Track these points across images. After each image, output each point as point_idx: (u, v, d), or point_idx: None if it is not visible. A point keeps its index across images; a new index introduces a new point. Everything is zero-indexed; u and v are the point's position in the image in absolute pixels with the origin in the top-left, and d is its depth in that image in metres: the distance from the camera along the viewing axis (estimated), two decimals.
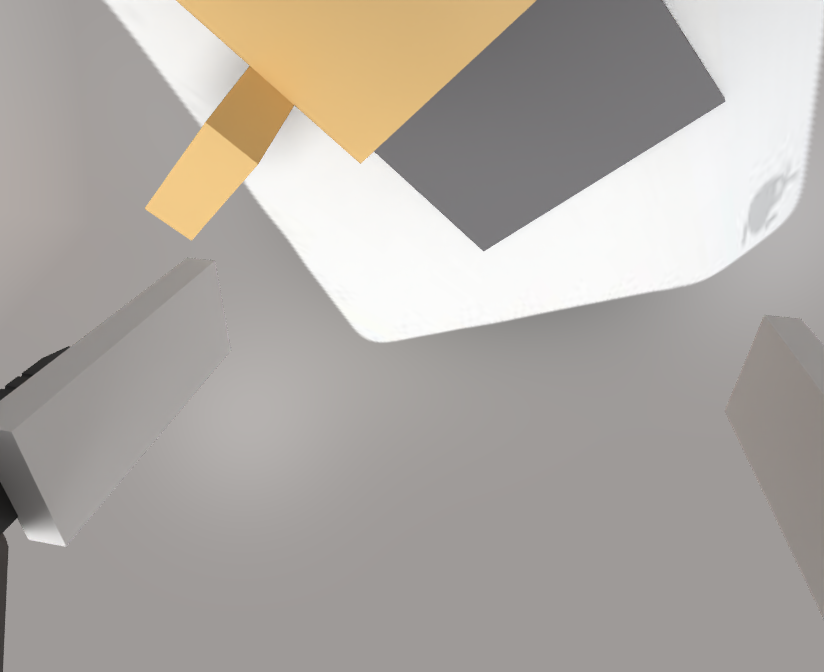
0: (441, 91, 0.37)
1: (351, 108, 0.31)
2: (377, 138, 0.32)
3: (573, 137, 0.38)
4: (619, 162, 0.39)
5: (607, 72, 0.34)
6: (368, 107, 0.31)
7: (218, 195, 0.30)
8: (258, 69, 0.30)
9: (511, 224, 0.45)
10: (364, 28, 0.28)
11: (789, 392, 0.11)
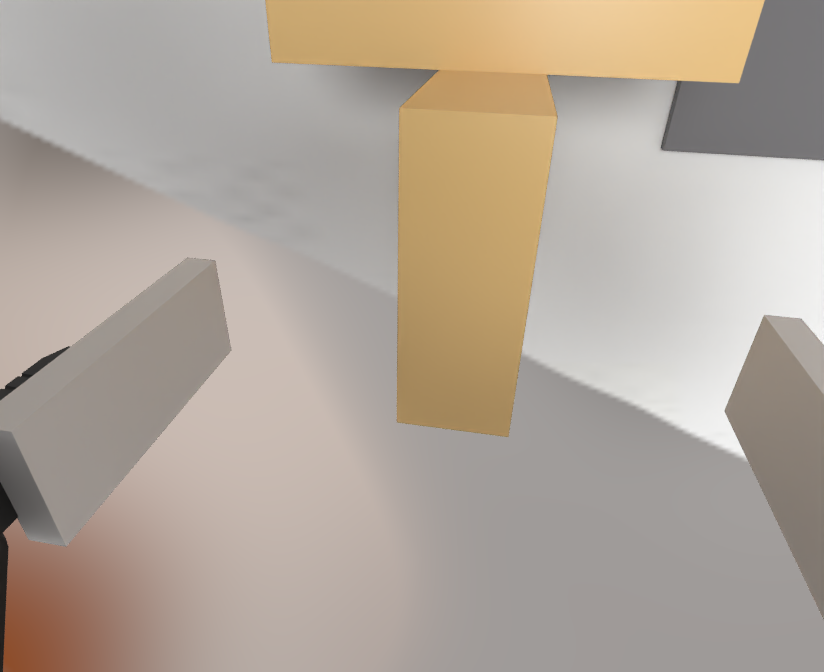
0: None
1: None
2: None
3: None
4: None
5: None
6: None
7: (510, 281, 0.12)
8: (455, 62, 0.15)
9: None
10: None
11: (788, 391, 0.11)
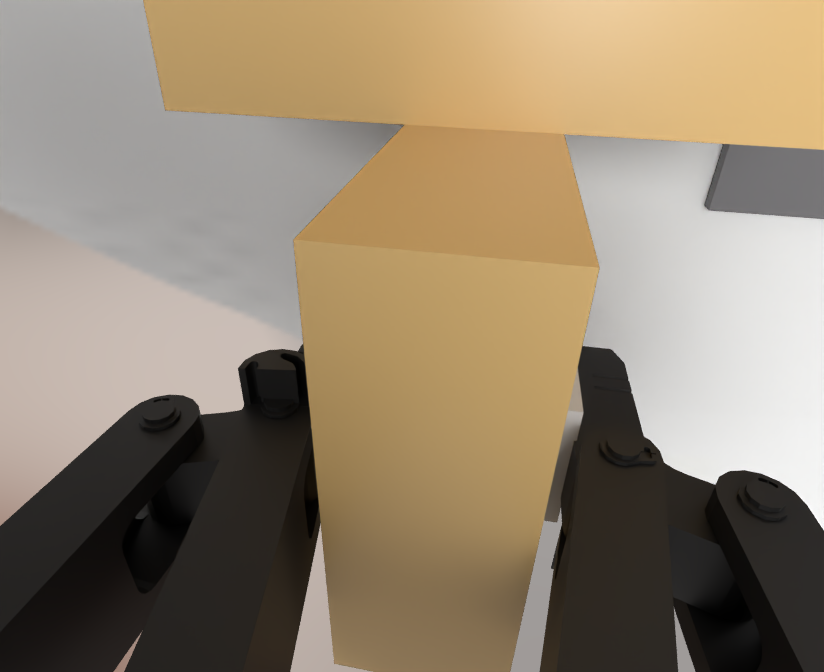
0: None
1: None
2: None
3: None
4: None
5: None
6: None
7: (507, 512, 0.07)
8: (428, 114, 0.10)
9: None
10: None
11: None
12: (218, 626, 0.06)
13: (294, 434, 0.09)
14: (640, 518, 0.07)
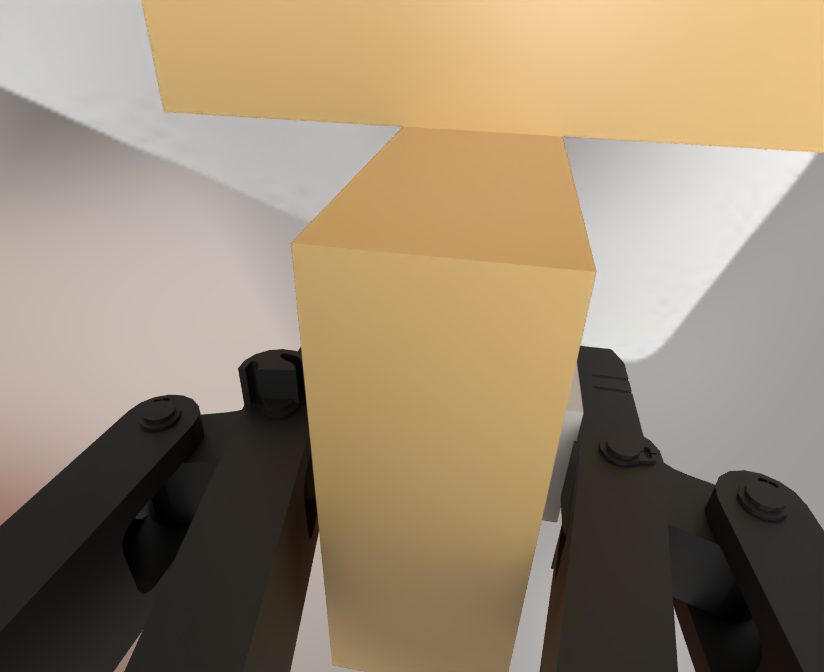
0: None
1: None
2: None
3: None
4: None
5: None
6: None
7: (504, 514, 0.07)
8: (426, 116, 0.10)
9: None
10: None
11: None
12: (218, 625, 0.06)
13: (294, 434, 0.09)
14: (640, 518, 0.07)
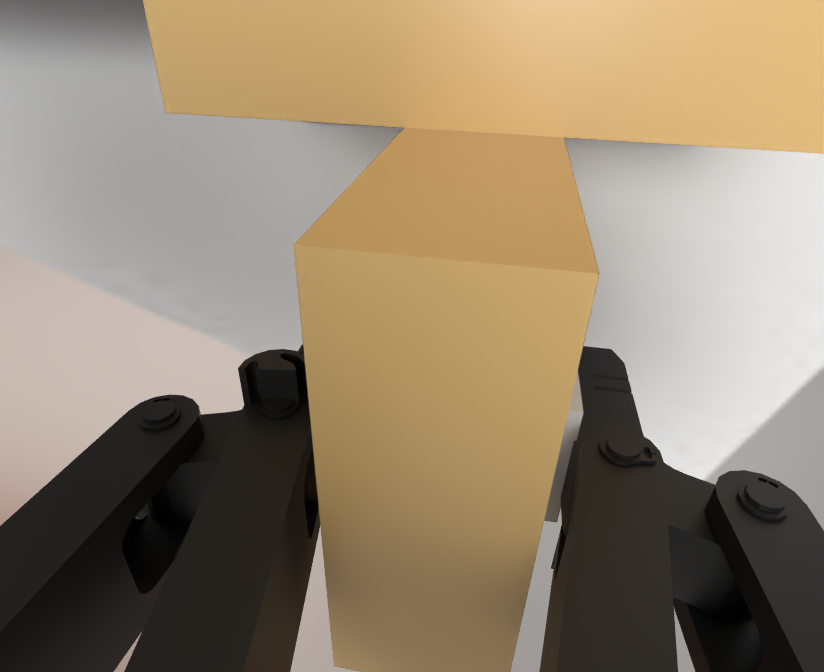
0: None
1: None
2: None
3: None
4: None
5: None
6: None
7: (507, 515, 0.07)
8: (428, 117, 0.10)
9: None
10: None
11: None
12: (218, 626, 0.06)
13: (294, 434, 0.09)
14: (640, 518, 0.07)
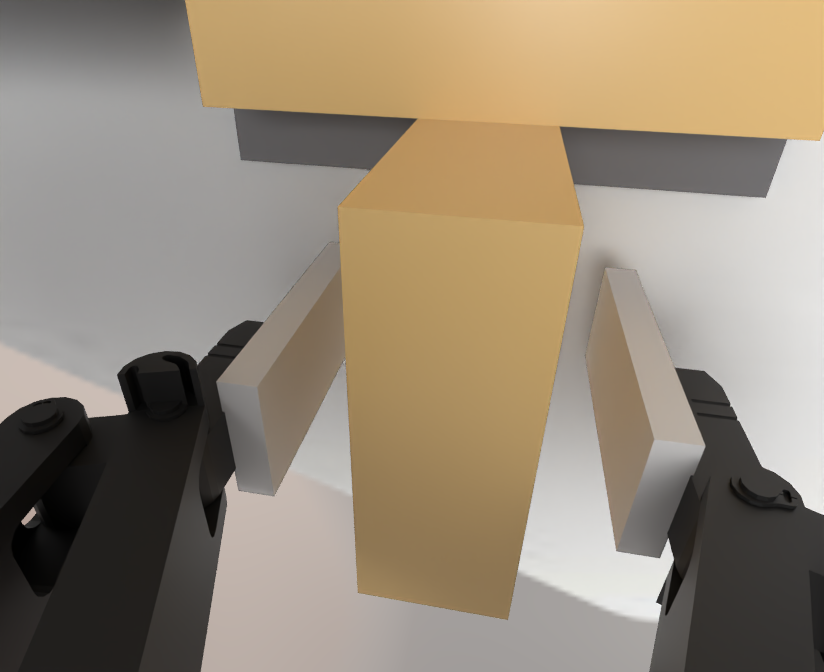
0: None
1: None
2: None
3: None
4: None
5: None
6: None
7: (510, 441, 0.08)
8: (438, 109, 0.12)
9: None
10: None
11: (609, 327, 0.13)
12: (112, 628, 0.06)
13: (184, 434, 0.09)
14: (777, 566, 0.07)
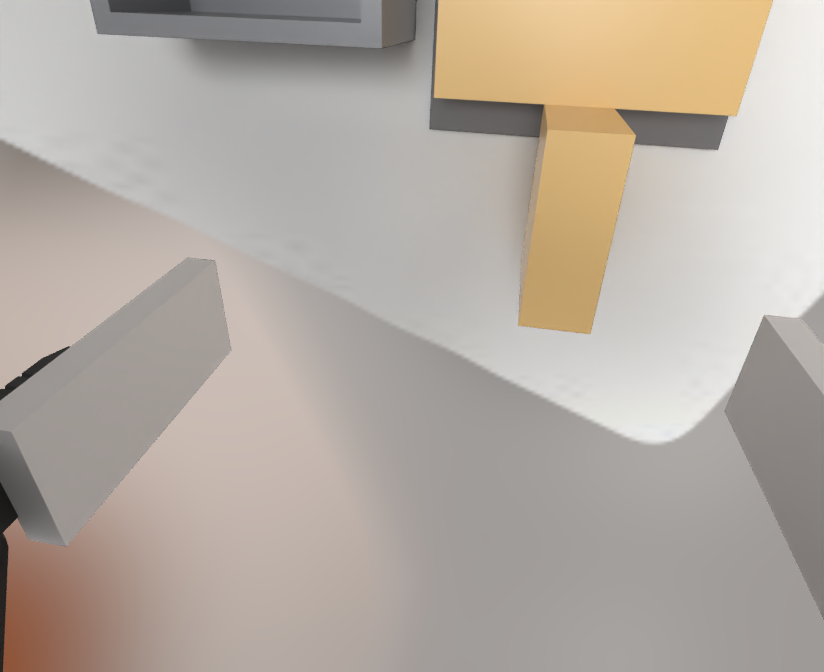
0: None
1: (688, 49, 0.22)
2: (743, 59, 0.22)
3: None
4: None
5: None
6: (710, 28, 0.22)
7: (601, 229, 0.21)
8: (555, 100, 0.24)
9: None
10: None
11: (789, 392, 0.11)
12: None
13: None
14: None
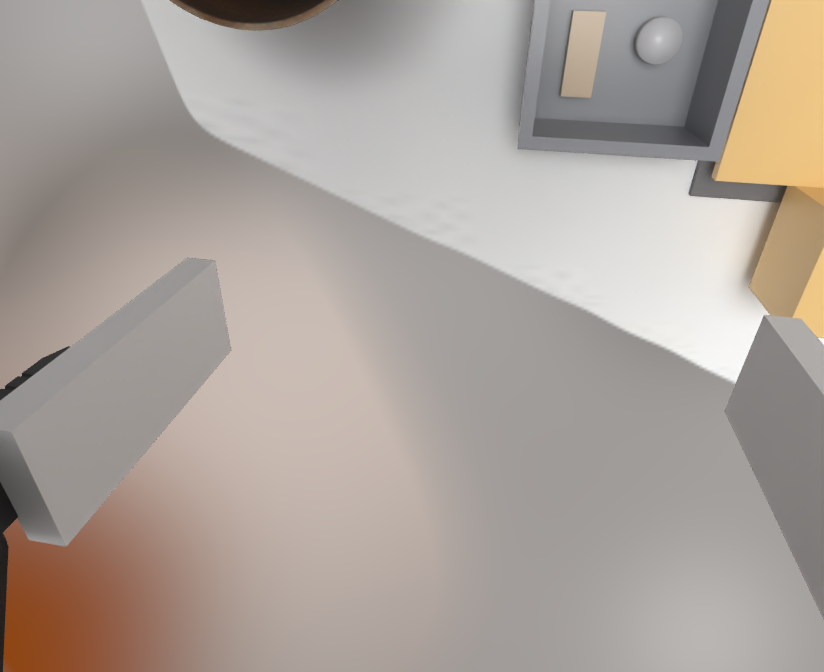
0: None
1: None
2: None
3: None
4: None
5: None
6: None
7: None
8: (803, 183, 0.37)
9: None
10: None
11: (789, 392, 0.11)
12: None
13: None
14: None
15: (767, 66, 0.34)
